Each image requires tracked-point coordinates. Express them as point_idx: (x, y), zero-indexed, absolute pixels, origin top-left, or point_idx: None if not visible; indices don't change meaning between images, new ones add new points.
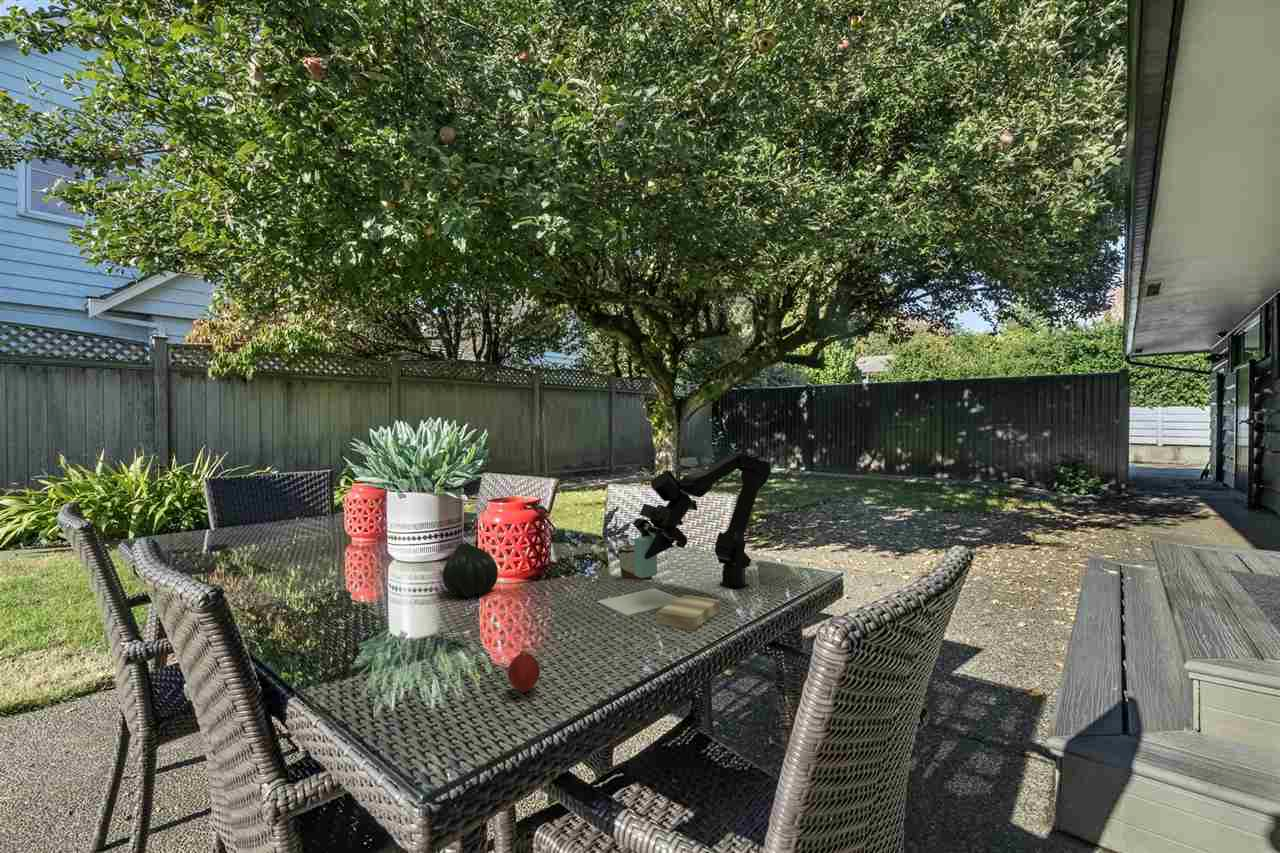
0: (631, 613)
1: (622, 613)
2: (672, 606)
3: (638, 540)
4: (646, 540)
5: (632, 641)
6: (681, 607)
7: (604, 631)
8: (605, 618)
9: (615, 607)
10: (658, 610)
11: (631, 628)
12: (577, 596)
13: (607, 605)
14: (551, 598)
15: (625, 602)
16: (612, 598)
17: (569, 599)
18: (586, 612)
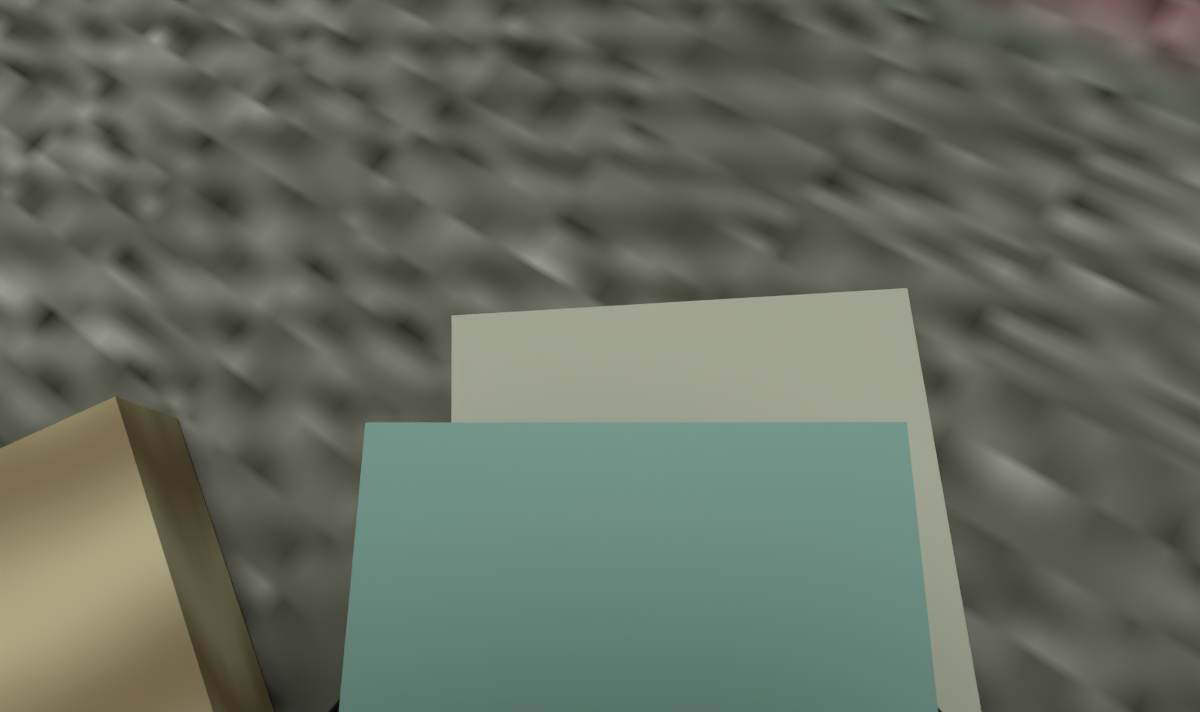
0: (457, 360)
1: (519, 313)
2: (108, 612)
3: (604, 435)
4: (358, 674)
5: (51, 100)
6: (21, 670)
7: (308, 47)
8: (519, 168)
9: (667, 334)
10: (119, 422)
11: (231, 212)
12: (1153, 245)
13: (750, 305)
14: (1186, 56)
15: None
16: (913, 445)
17: (1097, 156)
18: (719, 121)
